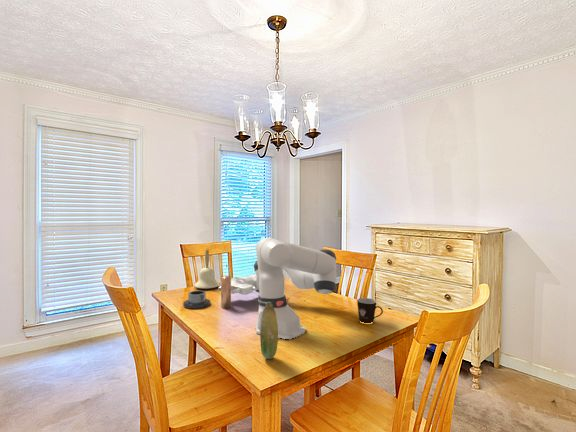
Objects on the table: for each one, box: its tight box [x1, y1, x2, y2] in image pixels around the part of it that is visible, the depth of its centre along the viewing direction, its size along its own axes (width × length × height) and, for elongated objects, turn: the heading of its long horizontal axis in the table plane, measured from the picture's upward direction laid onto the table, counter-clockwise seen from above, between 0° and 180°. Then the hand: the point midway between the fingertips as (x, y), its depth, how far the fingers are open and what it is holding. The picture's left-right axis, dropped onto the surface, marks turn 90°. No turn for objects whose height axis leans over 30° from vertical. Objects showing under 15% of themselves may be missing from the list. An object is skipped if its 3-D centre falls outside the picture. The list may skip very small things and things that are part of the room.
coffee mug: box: [356, 297, 384, 323], centre depth 144 cm, size 12×9×10 cm
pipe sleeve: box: [182, 290, 211, 310], centre depth 168 cm, size 14×14×6 cm
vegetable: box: [259, 302, 279, 360], centre depth 109 cm, size 6×6×20 cm
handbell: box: [194, 248, 220, 289], centre depth 203 cm, size 15×15×25 cm
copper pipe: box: [220, 275, 232, 310], centre depth 164 cm, size 5×5×16 cm
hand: (225, 290), depth 164 cm, fingers open, 8 cm apart
